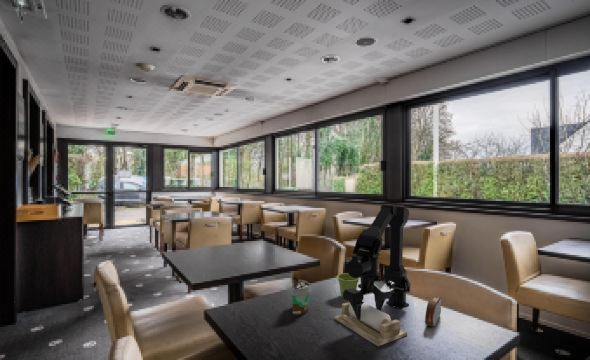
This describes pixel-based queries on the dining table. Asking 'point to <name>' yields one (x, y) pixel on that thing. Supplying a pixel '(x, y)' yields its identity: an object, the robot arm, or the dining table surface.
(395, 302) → the robot arm
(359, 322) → the holder
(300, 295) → the food container
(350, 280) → the plant pot
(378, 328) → the paper roll
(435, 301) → the tin
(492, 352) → the dining table surface
